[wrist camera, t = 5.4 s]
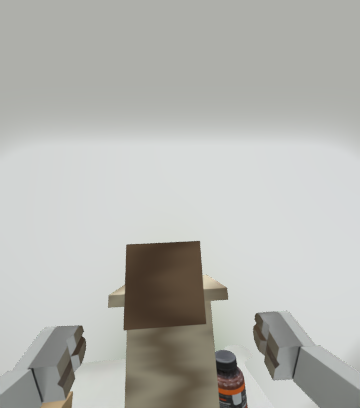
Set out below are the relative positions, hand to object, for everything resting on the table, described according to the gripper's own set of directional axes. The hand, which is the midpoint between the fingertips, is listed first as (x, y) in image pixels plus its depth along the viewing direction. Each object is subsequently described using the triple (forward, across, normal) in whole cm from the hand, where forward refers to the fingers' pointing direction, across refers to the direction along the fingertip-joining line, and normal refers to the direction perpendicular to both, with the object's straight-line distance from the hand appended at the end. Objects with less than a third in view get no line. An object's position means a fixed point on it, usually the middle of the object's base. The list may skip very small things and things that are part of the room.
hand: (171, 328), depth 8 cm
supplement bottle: (+10, +9, -36) cm, 39 cm away
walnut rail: (+9, 0, -5) cm, 10 cm away
